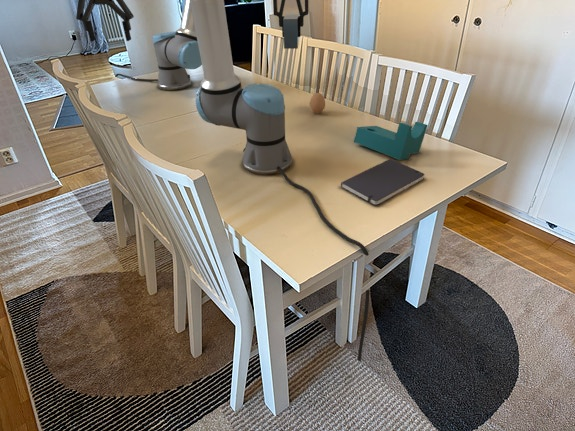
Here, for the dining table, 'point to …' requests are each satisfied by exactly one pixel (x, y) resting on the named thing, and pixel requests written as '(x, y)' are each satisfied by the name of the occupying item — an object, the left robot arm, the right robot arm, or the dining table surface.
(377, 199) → the notebook
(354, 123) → the dining table surface
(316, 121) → the dining table surface
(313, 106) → the egg
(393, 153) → the teal l-shaped bracket
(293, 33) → the brick
